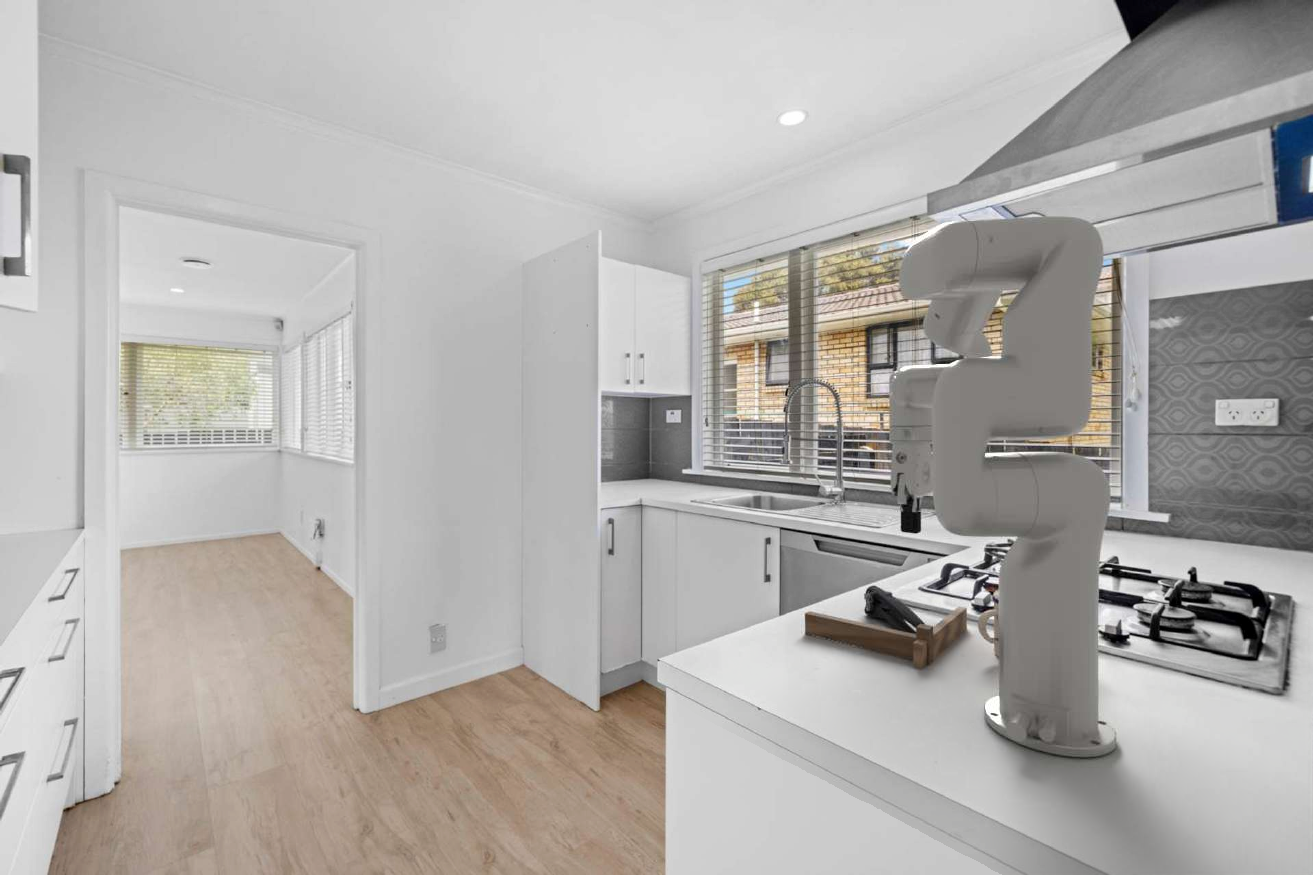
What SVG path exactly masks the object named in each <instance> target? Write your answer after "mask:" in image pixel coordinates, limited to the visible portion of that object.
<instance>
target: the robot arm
mask: <svg viewBox="0 0 1313 875" xmlns="http://www.w3.org/2000/svg"><path fill="white" fill-rule="evenodd" d="M1101 237H1102V236H1101V235H1100V232H1099V231H1098V228H1096V227H1095V226H1094V224H1093V223H1091V222H1090V221H1088V220H1086V219H1083V218H1079V217H1073V216H1056V215H1055V216H1054V215H1053V216H1050V215H1049V216H1024V217H1010V218H1009V217H1008V218H996V219H995V218H994V219H991V218H989V219H970V220H956V221H950V222H944V223H942V224H940V225H937V226H936V227H934V228H932V229H931V230H929V231H928V232H926V233H924V234H923V235H921V236H919V237H918V238H916V239H915V240H914V241H913V242H912V244H911V245H910V246H909V247H908V249H907V250H906V251H905V253H904V256H903V258H902V260H901V262H900V267H899V271H898V272H899V273H898V285H899V289H900V291H901V293H902V295H903V296H904V298H906V299H908V300H910V301H930V303H929V306H928V308H927V311H926V313H925V314H924V315H925V316H924V318H923V322H922V327H923V333H924V334H925V335H926V337H927V338H928V339H929V340H930V341H931V342H932V343H934V344H935V345H936V346H938V347H940V348H941V349H942V348H943V349H945V350H947V351H950V352H952V353H954V354H957V355H959V356H962V357H965V358H961V359H958V360H955V361H953V362H950V363H949V364H929V365H908V366H903V367H901V368H898V370H895V371H893V372H892V373H891V374H890V376H889V379H888V381H889V382H888V384H889V385H888V390H889V391H888V394H889V396H888V397H889V398H888V399H889V400H888V402H889V404H888V409H889V411H888V412H889V413H888V414H889V416H888V417H889V418H888V420H889V422H888V425H889V426H888V427H889V428H888V429H889V436H888V437H889V438H888V440H889V442H888V443H889V444H892V447H891V459H890V460H891V461H890V491H891V493H892V495H894V496H895V497H896V503H897V504H898V505H899V510H900V531H901V533H905V534H907V533H908V534H916V535H917V534H919V533H921V532H922V508H923V506H922V505H923V504H922V503H923V502H922V501H923V498H924V497H925V496H928V495H929V494H932V498H933V506H934V511H935V515H936V518H937V520H938V522H939V524H940V525H941V527H943V529H944V530H945V531H947V532H949V533H951V534H953V535H955V536H961V537H974V538H976V537H979V538H982V537H983V538H986V537H987V538H988V537H989V538H994V537H995V538H996V537H997V538H998V537H1000V538H1005V537H1006V538H1007V537H1009V538H1010V537H1011V538H1012V537H1015V538H1016V539H1015V540H1014V542H1013V544H1012V545H1011V546H1010V548H1009V549H1008V551H1007V553H1006V554H1005V556H1004V557H1003V559H1002V561H1001V564H1000V568H999V572H998V590H999V657H998V695H997V696H994V697H992V698H990V699H988V700H987V701H986V703H985V704H984V708H983V714H984V715H983V716H984V719H985V721H986V723H987V724H988V725H990V727H991V728H992V729H993V730H994V731H995V732H997V733H998V734H1000V735H1001V736H1003V737H1005V738H1007V739H1009V740H1011V741H1013V742H1015V743H1017V744H1019V745H1022V746H1024V747H1027V748H1029V749H1032V750H1036V751H1039V752H1040V751H1041V752H1043V753H1046V754H1047V753H1048V754H1053V755H1057V756H1063V757H1071V758H1093V757H1095V758H1096V757H1100V756H1105V755H1107V754H1109V753H1111V752H1112V751H1113V750H1114V749H1115V748H1116V745H1117V732H1116V731H1115V729H1114V727H1112V725H1111V724H1110V723H1109V721H1106V720H1105V719H1104V718H1102V717H1101V716H1099V600H1100V593H1099V592H1100V589H1099V588H1100V563H1101V562H1100V559H1101V549H1102V542H1103V537H1104V533H1105V530H1106V529H1105V528H1106V524H1107V520H1108V516H1109V512H1110V508H1111V486H1110V482H1109V480H1108V477H1107V475H1106V473H1105V472H1104V470H1103V469H1102V468H1101V467H1100V466H1099V465H1098V464H1096V462H1094V461H1093V460H1091V459H1089V458H1087V457H1084V456H1082V455H1078V454H1076V453H1069V452H1062V451H1012V452H987V447H988V444H989V442H991V441H992V442H993V441H994V442H995V441H1040V440H1041V441H1042V440H1043V441H1044V440H1056V439H1065V438H1068V437H1072V436H1075V435H1077V434H1079V433H1080V432H1081V431H1083V430H1084V429H1085V428H1086V426H1087V425H1088V423H1089V421H1090V418H1091V417H1090V416H1091V412H1092V402H1093V332H1092V319H1093V307H1094V302H1095V297H1096V294H1097V290H1098V286H1099V283H1100V279H1101V275H1102V270H1103V266H1104V244H1103V241H1102V238H1101ZM1006 291H1007V292H1008V291H1018V292H1017V293H1016V295H1015V296H1014V297H1013V299H1012V300H1011V302H1010V303H1009V305H1008V306H1007V308H1006V310H1005V312H1004V314H1003V317H1002V320H1001V341H1002V342H1001V354H1000V356H993V350H992V347H991V344H990V342H989V340H988V338H987V336H986V335H985V334H984V332H983V331H984V329H985V328H986V325H987V323H988V321H989V319H990V317H991V315H992V314H993V311H994V309H995V307H996V306H997V303H998V302H999V300H1000V298H1001V296H1002V293H1003V292H1006ZM931 444H932V445H931ZM931 447H932V448H931Z"/></svg>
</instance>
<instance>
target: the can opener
mask: <svg viewBox="0 0 1313 875" xmlns="http://www.w3.org/2000/svg"><path fill="white" fill-rule="evenodd" d="M863 596H864V598H863V599H864V600H865V607H864V609H863V612H864V613H865V614H866V615H867V616H870V617H871V618H874V619H878V620H886V621H887V622H888V623H889V624H890V625H891V626H892V627H893V628H894V630H898V631H903V632H908V633H912V634H916V630H915V629H916V627H917V626H918V625H919V624H925V625H926V623H925V622H924V621H923V620H922V619H921V618H920V617H919V616H918V615H917V614H916V613H915V612H914V611H913V610H912V609H911V608H909V606H907V605H906V604H905V603H904V602H902V601H901V600H900V599H898V598H896V597H895V596H893V592H891V591H887V590H884V589H882V588H880V587H879V586H877V585H871V586H868V587H867V589H865V593H864V594H863ZM910 625H911V626H910ZM914 628H915V629H914Z"/></svg>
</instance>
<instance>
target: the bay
mask: <svg viewBox="0 0 1313 875" xmlns="http://www.w3.org/2000/svg"><path fill="white" fill-rule="evenodd" d="M967 614H968V612H967V607H965V606H964V607H963V606H957V607H956V608H955V609H954V610H953V611H951V612H949V613H948V614H947V616H945V617H944V618H943V619H942V620H940V621H939V622H937V623H936V624H935V625H934V626H933V625H929V624H926V623H925V624H919V625H918V626H917V627H916V628H915V629H916V630H915V631H916V634H912V633H908V632H903V631H898V630H896V629H895V628H894V629H893V628H888V627H885V626H884V627H883V626H880V625H874V624H869V623H865V622H861V621H856V620H851V619H849V618H848V619H847V618H842V617H837V616H832V615H828V614H825V613H824V614H823V613H820V612H819V613H818V612H815V611H810V610H809V611H807V612H805V613H804V635H807V634H810V635H809V636H811V635H814V636H813V637H815V636H819V637H822V638H821V639H823V638H825V639H824V640H827V639H830V640H829V641H831V640H833V641H832V642H835V641H838V642H837V643H839V642H842V643H841V644H843V643H846V644H845V645H847V644H849V645H848V646H851V645H855V646H857V647H856V648H859V647H862V648H861V649H863V648H865V650H868V649H870V650H869V651H872V652H875V653H876V652H877V653H881V654H884V655H888V656H891V657H892V656H893V657H896V656H897V658H901V659H904V658H905V659H904V660H909V661H912V660H913V668H917V669H920V670H923V669H924V668H925V667H926V666H930V665H931V664H932V663H933V662H934V659H935V658H936V657H937V656H939V654H940V653H942V652H943V651H944V650H945V649H946V648H947V647H948V646H949V645H951V643H953V642H954V641H955V640H956V639H957V638H958V637H959V636H960V635H961V634H962V633H963V632H965V630H967V627H968V626H967V625H968V624H967V622H968V617H967V616H968V615H967ZM819 637H818V638H819ZM855 646H854V647H855Z"/></svg>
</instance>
